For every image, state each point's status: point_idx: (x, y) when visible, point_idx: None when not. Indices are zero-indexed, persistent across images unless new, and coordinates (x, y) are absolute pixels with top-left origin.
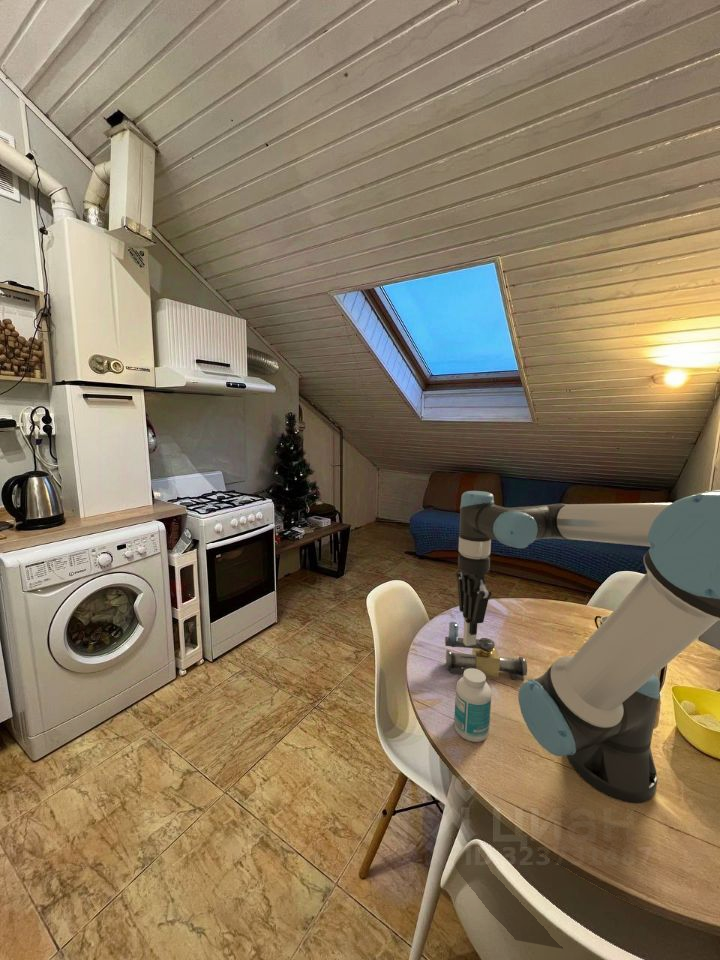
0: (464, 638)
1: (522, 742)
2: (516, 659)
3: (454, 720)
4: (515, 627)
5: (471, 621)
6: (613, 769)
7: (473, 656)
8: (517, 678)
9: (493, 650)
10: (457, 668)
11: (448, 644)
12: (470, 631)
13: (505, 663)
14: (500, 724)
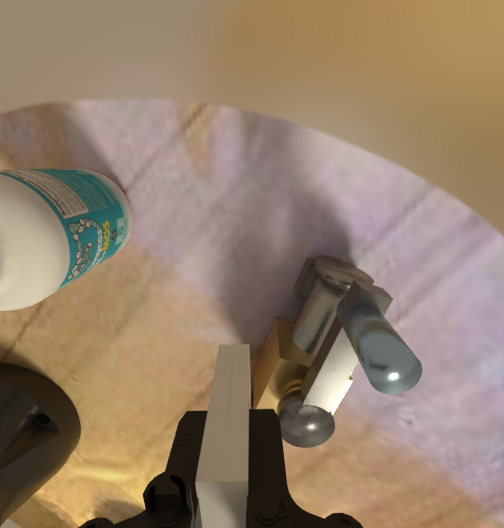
0: (237, 363)
1: (59, 310)
2: None
3: (87, 171)
4: (432, 503)
5: (150, 517)
6: None
7: (310, 350)
8: None
9: None
10: (303, 283)
11: (351, 292)
12: (193, 427)
13: None
14: (109, 293)
